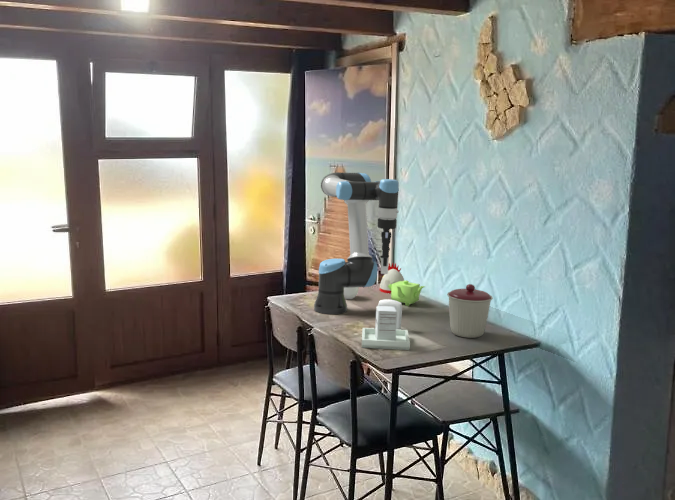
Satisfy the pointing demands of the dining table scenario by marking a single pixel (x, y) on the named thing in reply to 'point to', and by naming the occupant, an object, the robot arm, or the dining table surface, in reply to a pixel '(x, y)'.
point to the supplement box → (386, 323)
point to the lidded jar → (350, 292)
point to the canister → (468, 311)
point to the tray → (371, 342)
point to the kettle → (405, 292)
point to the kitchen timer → (390, 278)
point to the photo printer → (397, 306)
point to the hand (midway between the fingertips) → (384, 270)
